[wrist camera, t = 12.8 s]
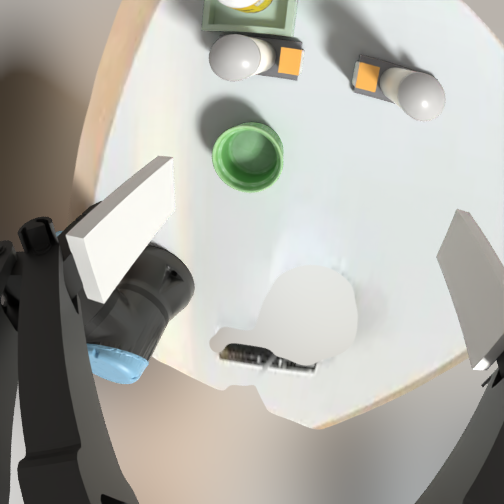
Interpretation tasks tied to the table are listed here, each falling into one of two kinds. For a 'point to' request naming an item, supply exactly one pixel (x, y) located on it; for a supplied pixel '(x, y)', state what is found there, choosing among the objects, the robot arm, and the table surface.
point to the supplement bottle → (247, 5)
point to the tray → (251, 18)
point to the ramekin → (248, 157)
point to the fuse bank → (364, 79)
